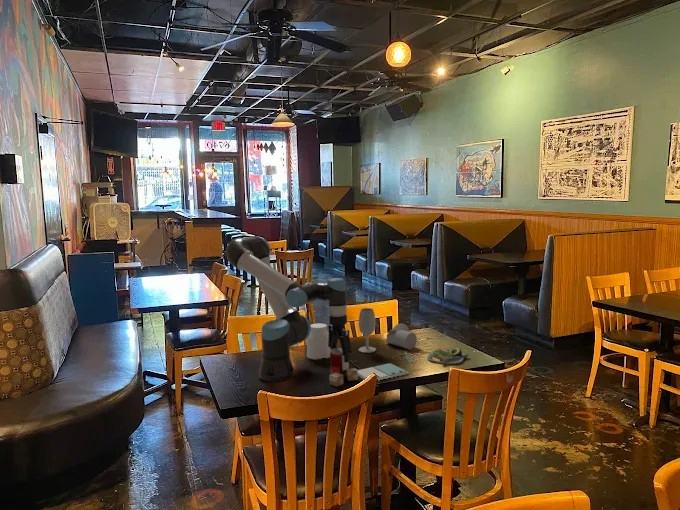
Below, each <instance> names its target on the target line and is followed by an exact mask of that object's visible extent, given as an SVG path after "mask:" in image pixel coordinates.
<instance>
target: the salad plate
mask: <svg viewBox="0 0 680 510" xmlns="http://www.w3.org/2000/svg"><path fill="white" fill-rule="evenodd" d="M467 357H469V354H465V353H463V352H462V349H461V348H460V347H457V346H456V347H451V348H449V350H444V349H434V350H432V351H431V352H430V353H429V354H428V355H427V356H426V358H427V360H429V361H430V362H431V363H434V364H440V365H441V364H442V365H457V364H460V363H462V362H463V361H464V359H466V358H467ZM434 358H435V359H439V360H435V359H434Z"/></svg>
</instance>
